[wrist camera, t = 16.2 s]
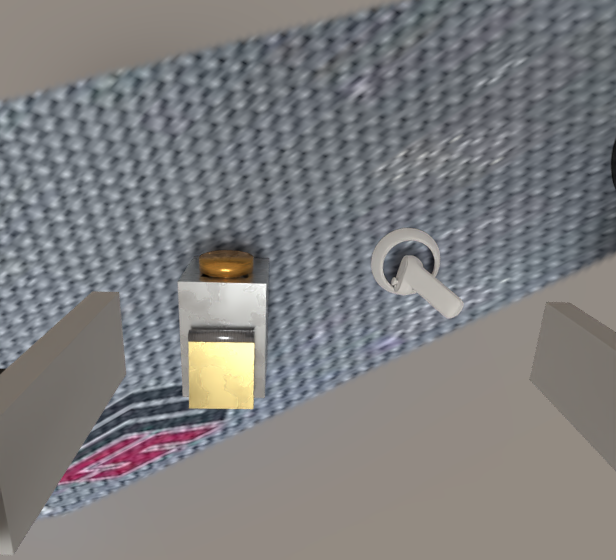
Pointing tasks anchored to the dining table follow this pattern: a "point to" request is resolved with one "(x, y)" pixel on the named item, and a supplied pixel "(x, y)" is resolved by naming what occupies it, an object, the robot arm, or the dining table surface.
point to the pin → (226, 263)
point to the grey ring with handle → (415, 272)
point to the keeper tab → (221, 369)
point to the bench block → (226, 312)
